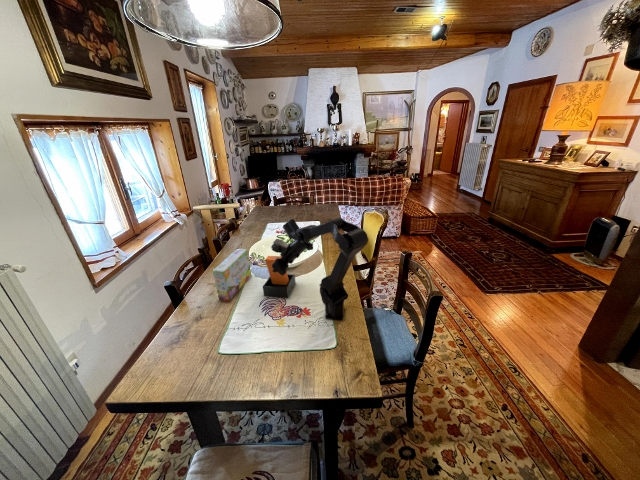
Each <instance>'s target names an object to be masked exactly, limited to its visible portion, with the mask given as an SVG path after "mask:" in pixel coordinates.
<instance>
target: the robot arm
mask: <svg viewBox="0 0 640 480" xmlns="http://www.w3.org/2000/svg"><path fill="white" fill-rule="evenodd" d="M282 229H283V230H284V232H285V233H286V235H287V237H288V238H289V240H293V241H292V242H290V243H289V242H286V241H284V240H282V239H280V238H276V239H275V240H274V241H273V242H272V245H271V246H270V249H271V251H272V252H274V253H277V254H278V253H279V256H282V258H281V259H278V258H277V259H276V260H275V261H274V262H273V264H272V265H271V266H272V267H273V268H274V269H273V270H272V271H273V272H274V273H275V272H278V273H279V274H281V275H282V276H283V275H284V274H285V273H286V272H287V273H288V270H289V264H290V265H292V264H293V263H294V261H295V260H296V259H298V258H299V257H300V256H301V254H303V252H305V250H306V251H312V250H314V243H313V242H311V241H313V240H316V239H318V238H319V237H320V236H324V235H328V234H330V233H331V235H332V237H333V240H334V242H335V243H336V244H337V245H338V249H339V254H338V256H337V257H336V261H335V263H334V265H333V268H332V270H331V272H330V274H329V275H327V276H324V277H323V278H321V282H320V284H319V294H320V298H321V302H322V304H324V313H325V319H327V320H336V321H343V320H344V316H345V311H346V308H345V300H348V298H349V294H348V292H347V290H346V289H345V287H344V286H345V284H344V279H345V277H346V275H347V273H348V271H349V269H350V267H351V264H352V262H353V261H354V259H355V257H356V256H357V255H358V254H359V253H360V252H361V251H362V250H363V249H364V248H365V247H366V246H367V244H369V237H368V234H367V232H366V231H365V230H364V229H363V228H361V227H360V226H358V225H357V224H355V223H352V222H350V221H346V220H345V219H344V218H342V217H336V218H333V219H330V220H328V221H326V222H323V223H321V224H318V225H316V224H309V225H307V226H303V227H300V226H299V225H298V224H297V222H296V220H295V218H291V219H289V220H288V221H287V222H286V223H284V224H283V225H282ZM340 231H342V232H344V233H341V232H340Z"/></svg>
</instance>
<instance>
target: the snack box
mask: <svg viewBox="0 0 640 480" xmlns="http://www.w3.org/2000/svg"><path fill="white" fill-rule="evenodd" d="M250 263H251V262H250V257H249V251H248V248H237V249H236V250H234V251H233V252H232V253H231V254H229V256H228V257H226V258H225V259H224V260H223V261H222V262H221V263H220V264H218V265H217V266H216V267H215V268H214V269H213V270H212V274H213V278H214V284H215V288H216V292H217V297H218V300H219V301H223V302H231V300H232V299H233V298H234V297H235V296H236V294H237V293H238V292H239V291H240V290H241V289H242V287H243V286H244V285H245V284H246V283H247V282H248V281H249V279H250V278H251V277H252V270H251V265H250Z"/></svg>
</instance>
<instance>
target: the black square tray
mask: <svg viewBox="0 0 640 480" xmlns="http://www.w3.org/2000/svg"><path fill="white" fill-rule="evenodd" d="M287 275H288V278H289V282H288V283H287V285H280V284H272V281H271V278H270V276H269V277H268V278H267V279H266V281H265V282H264V283H263V285H262V291H263V297H270V298H278V299H279V298H280V299H289V297H290V296H291V293H292V292H293V290H294V288H295V286H296V275H295V274H290V273H287Z"/></svg>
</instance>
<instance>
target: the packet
mask: <svg viewBox="0 0 640 480" xmlns="http://www.w3.org/2000/svg"><path fill="white" fill-rule="evenodd" d="M277 258H278V259H281V258H282V256H281V255H267V257H266V258H265V259H264V261H265V264H266V267H267V270H268V271H267V272H268V274H269V277H270V278H271V281H272V284H280V285H287V283H288V282H289V278H288V275H287V274H288V271H287V272H286V273H285V274H284V275H283V276H282V275H281V274H279V273H278V272H275V273H274V272H273V271H272V270H273V269H274V268H273V267H272V266H271V265H272V264H273V262H274V261H275V260H276V259H277Z"/></svg>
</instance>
